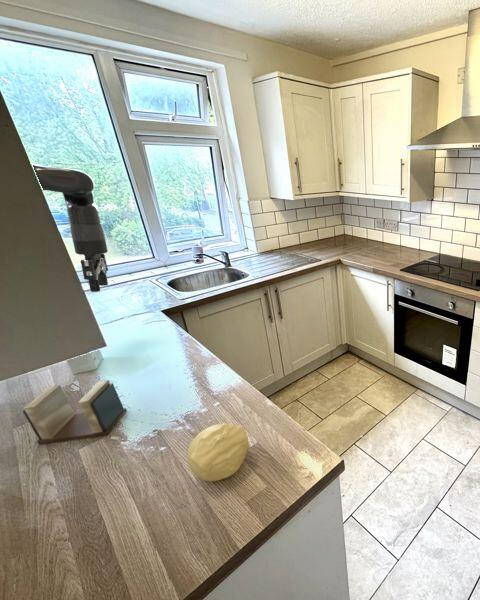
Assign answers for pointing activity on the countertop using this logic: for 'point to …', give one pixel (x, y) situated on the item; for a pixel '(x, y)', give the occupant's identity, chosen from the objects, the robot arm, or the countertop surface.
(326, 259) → the countertop surface
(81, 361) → the small box
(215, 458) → the yellow lumpy ball
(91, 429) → the book rack
